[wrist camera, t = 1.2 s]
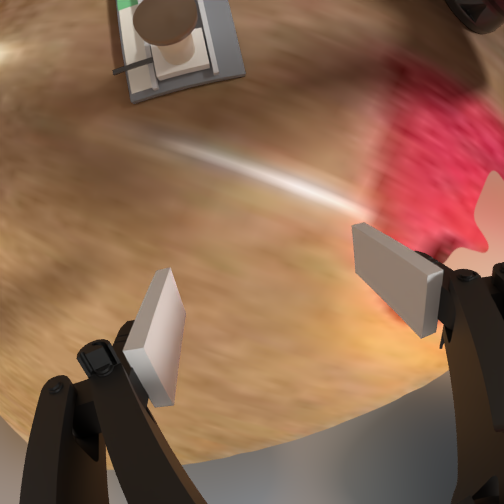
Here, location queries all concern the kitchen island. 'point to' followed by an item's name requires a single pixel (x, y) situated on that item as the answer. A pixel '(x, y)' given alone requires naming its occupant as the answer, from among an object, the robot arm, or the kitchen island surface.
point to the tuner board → (221, 68)
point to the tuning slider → (170, 37)
